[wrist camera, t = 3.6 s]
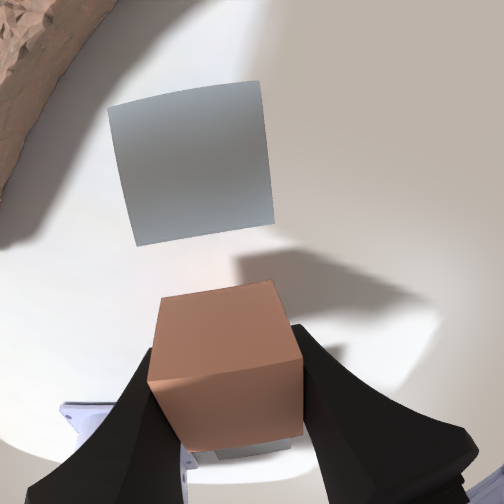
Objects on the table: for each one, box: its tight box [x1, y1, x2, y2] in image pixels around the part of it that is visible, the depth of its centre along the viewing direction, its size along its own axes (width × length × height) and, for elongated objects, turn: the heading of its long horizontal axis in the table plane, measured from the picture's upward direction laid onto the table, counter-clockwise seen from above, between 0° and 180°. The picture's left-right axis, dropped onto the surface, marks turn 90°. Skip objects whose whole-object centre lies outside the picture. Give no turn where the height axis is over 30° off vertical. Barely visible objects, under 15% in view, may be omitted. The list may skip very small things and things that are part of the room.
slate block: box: [107, 81, 275, 247], centre depth 10 cm, size 4×4×4 cm
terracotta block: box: [147, 280, 303, 452], centre depth 10 cm, size 4×4×4 cm
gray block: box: [214, 438, 291, 460], centre depth 15 cm, size 4×4×4 cm
